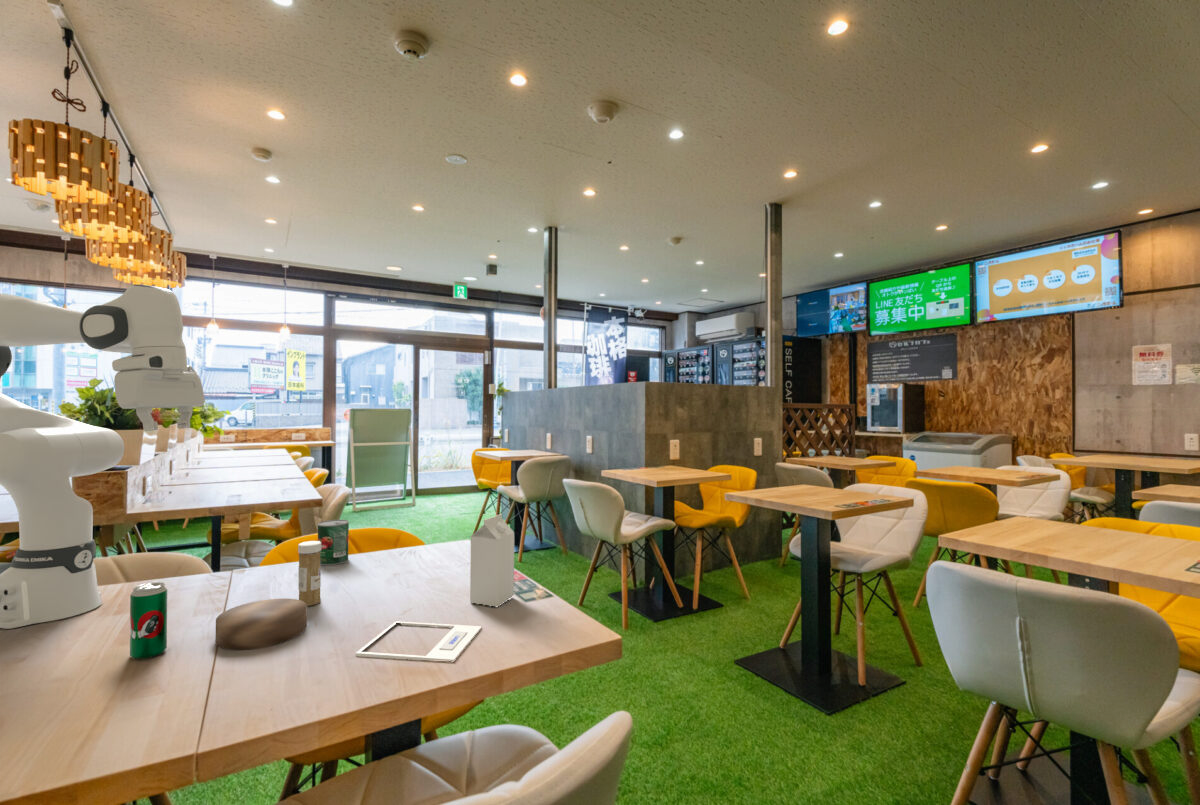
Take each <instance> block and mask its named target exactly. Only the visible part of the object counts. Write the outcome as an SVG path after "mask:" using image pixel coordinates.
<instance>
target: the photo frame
mask: <svg viewBox="0 0 1200 805" xmlns="http://www.w3.org/2000/svg"><path fill="white" fill-rule="evenodd" d="M396 623H402V624H401V626H403V625H413V626H412V627H415V626H414V625H418V626H417V627H420V626H437V627H436V628H438V627H453V628H450V630H449V631H448V632H447V634H445V636H444V637H442V639H441V640H440V641H439V642H438V643H436V644H435V645H434V647H433V648H432V649H431V650H430V651H429V652H428V653H427V654H426V655H416V654H400V653H389V652H388V653H386V652H370V651H369V652H368V651H364V650H365V649H366V648H368V647H369V646H371V644H373V643H375V642H376V640H378V639H379V638H380V637H382V636H383V635H384V634H386V633H387V632H388V631H389V630H390V629H391V628H393V627H394V626H395V625H397V624H396ZM481 628H482V629H483V626H480V625H466V624H465V625H464V624H448V623H447V624H446V623H433V622H432V623H431V622H417V621H416V622H413V621H397V620H396V621H394V622H393V623H392V624H390V625H389V626H388V627H387V628H385V629H384V630H382V632H380V633H379V634H377V636H375V637H374V638H372V639H371V640H369V642H367V643H366V644H364V646H362V647H361V648H360V649H358V650H357V651H356V652H355V657H364V658H375V659H394V658H395V659H396V660H406V659H408V660H409V661H410V659H411V661H421V660H447V661H449V660H450V661H454V660H455V659H456V658H457V656H458V655H459V654H460V653H461V652H462V651H463V649H464V648H465V647H466V646H467V645H468V644H469V643H470V644H471V642H472V641H473V640H474V639H475V638H476V636H477V635H478V634H479V633H480V632H479V630H480V629H481ZM482 629H481V630H482ZM481 630H480V631H481ZM478 632H479V633H478ZM477 633H478V634H477ZM476 634H477V635H476ZM475 635H476V636H475ZM474 637H475V638H474ZM473 638H474V639H473ZM472 639H473V640H472ZM471 640H472V641H471ZM470 641H471V642H470ZM470 644H469V645H470ZM469 645H468V646H469ZM468 646H467V647H468ZM467 647H466V648H467ZM466 648H465V649H466ZM463 652H464V651H463ZM463 652H462V653H463ZM462 653H461V654H462ZM395 659H394V660H395ZM457 659H458V658H457ZM457 659H456V660H457Z"/></svg>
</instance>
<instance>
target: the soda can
mask: <svg viewBox="0 0 1200 805" xmlns="http://www.w3.org/2000/svg"><path fill="white" fill-rule="evenodd" d="M165 585H166V584H165V583H164V582H149V583H143V584H140V585H137V586H135V587H133V589H132V592H131V594H130V597H129V600H130V601H129V602H130V604H129V606H130V607H129V615H130V616H129V656H130V657H131V658H132V659H133V660H138V661H139V660H149V659H152V658H155V657H158V656H160V655H162V654H163V653H164V652H165V651H166V649H167V648H168V639H167V638H168V588H167V587H166V586H165Z"/></svg>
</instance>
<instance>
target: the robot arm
mask: <svg viewBox="0 0 1200 805" xmlns="http://www.w3.org/2000/svg"><path fill="white" fill-rule="evenodd" d="M183 322H184V321H183V316H182V309H181V306H180V302H179V299H178V297H177V295H176V294H175V293H174V292H173V291H172V290H170V289H168V288H164V287H160V286H152V285H148V284H133V285H130V286H128V287H127V288H126V290H125V291H124V293H123V294H122V295H120V296H118V297H117V298H114V299H112V300H110V301H108V302H106V303H103V304H96V305H94V306H91V307H89V308H88V309H87V310H85V312H81V311H76V310H73V309H69V308H65V307H62V306H58V305H55V304H50V303H47V302H44V301H39V300H37V299H32V298H29V297H24V296H19V295H14V294H7V293H0V379H1V377H3V376H4V375H5V374H6V373H7V372H8V369H9V367H10V366H11V364H12V360H13V354H12V350H11V347H14V348H15V347H33V346H46V345H48V346H49V345H50V346H51V345H63V344H65V345H66V344H83V343H84V344H87V345H88V346H89V347H90V348H91V349H94V350H98V351H103V352H108V353H110V352H111V353H121V354H130V355H127V356H124V357H120V358H118V359H114V360H113V361H112V362H111V366H112V370H113V371H114V372H116V374H115V375H114V383H113V384H114V392H115V400H116V402H117V404H118V406H119V407H120V408H121V409H123V410H124V409H126V410H129V409H130V410H132V409H135V412H136V416H137V417H138V419H139V420H140V422H141V423H142V428H143V431H144V432H153V431H158V430H159V426H158V425H159V424H158V421H157V420H156V421H155V420H154V418H153V416H152V413H153V409H173V408H174V409H175V408H176V409H177V410H178V413H179V414H180V415H179V419H178V420H176V424H177V426H176V427H177V429H178V430H180V429H181V430H183V429H190V428H191V421H190V420H191V418H192V415H193V412H194V411H193V410H194V408H197V407H203V406H204V404H205V402H206V399H205V392H204V389H203V385H202V380H201V378H200V376H199V375H198V373H197V371H196V370H195V369H194V368H193V367H192V366H190V365H188V359H187V351H186V346H185V345H186V344H185V342H184V340H183V331H184V323H183ZM124 454H125V443H124V440H123V438H122V437H121V435H120V434H119V433H118V432H116V431H115V430H113V429H110V428H107V427H101V426H96V425H91V424H88V423H84V422H81V421H78V420H74V419H71V418H68V417H65V416H61V415H58V414H54V413H50V412H48V411H43V410H40V409H37V408H35V407H32V406H30V405H27V404H24V403H23V402H21V401H18V400H17V399H14V398H13V397H10V396H8V395H6V394H5V393H2V392H0V485H1V486H2V487H3V488H4V489H5V490H6V491H7V492H8V494H9V495H10V496H11V498H12V501H13V502H14V504H15V507H16V510H17V515H18V528H19V547H18V548H17V549H16V550H12V551H8V552H6V554H7V556H6V559H9V558H12V560H11V562H10V565H9V566H10V567H9V568H7V569H5V570H4V571H2V573H0V629H7V630H8V629H15V628H20V627H24V626H29V625H33V624H39V623H45V622H53V621H58V620H62V619H66V618H70V617H75V616H78V615H80V614H81V615H82V614H84V613H86V612H87V613H88V612H90V611H92V610H94V609H96V608H98V607H100V606H101V605H102V604H103V601H102V599H101V598H102V593H101V591H99V586H98V579H97V571H96V564H95V563H94V559H95V558H94V557H95V556H96V548H97V545H96V540H95V539H93V526H94V524H93V523H94V522H93V521H94V515H93V514H94V511H93V510H94V508H93V505H92V504H91V502H90V501H88V500H87V499H85V498H83V497H81V496H79V495H77V494H76V493H75V491H74V490H73V487H72V484H71V481H70V480H71V479H70V478H75V477H85V476H91V475H94V474H97V473H98V474H99V473H100V472H104V471H106V470H108V469H112V468H113V467H115V466H117V465H118V464H119V463H120V462H121V461H122V459H123V457H124ZM8 554H9V555H8Z"/></svg>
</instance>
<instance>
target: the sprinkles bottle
mask: <svg viewBox="0 0 1200 805" xmlns="http://www.w3.org/2000/svg"><path fill="white" fill-rule="evenodd" d="M297 549H298V550H297V553H298V600H301V601H303V602H305V603H306V604H307V607H311V606H315V605H317V604H319V603H321V601H322V599H321V586H322V585H321V578H322V577H321V575H322V573H321V569H322V568H321V565H320V552H321V542H320V541H318V540H308V541H303V542H301V543H298V547H297Z"/></svg>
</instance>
